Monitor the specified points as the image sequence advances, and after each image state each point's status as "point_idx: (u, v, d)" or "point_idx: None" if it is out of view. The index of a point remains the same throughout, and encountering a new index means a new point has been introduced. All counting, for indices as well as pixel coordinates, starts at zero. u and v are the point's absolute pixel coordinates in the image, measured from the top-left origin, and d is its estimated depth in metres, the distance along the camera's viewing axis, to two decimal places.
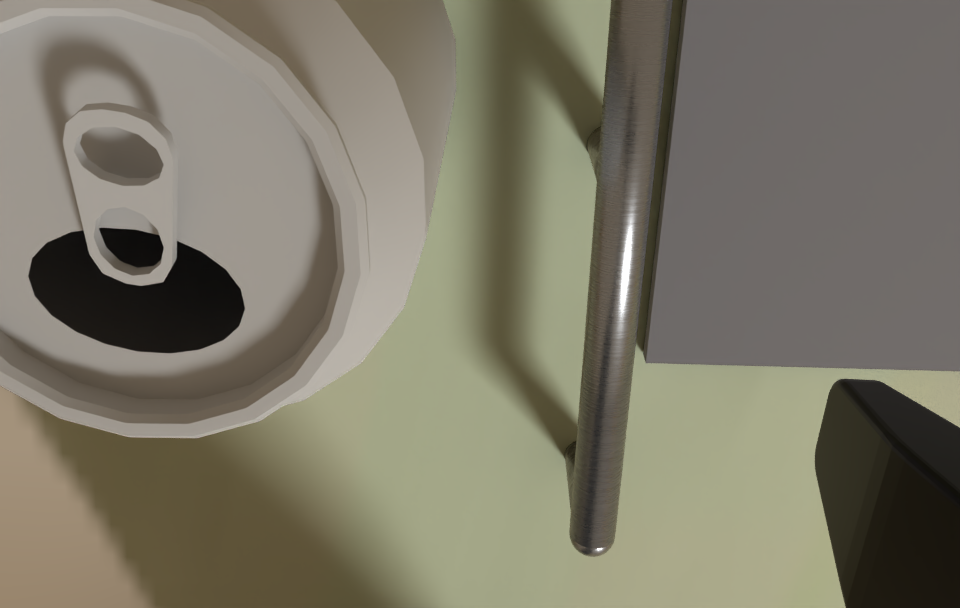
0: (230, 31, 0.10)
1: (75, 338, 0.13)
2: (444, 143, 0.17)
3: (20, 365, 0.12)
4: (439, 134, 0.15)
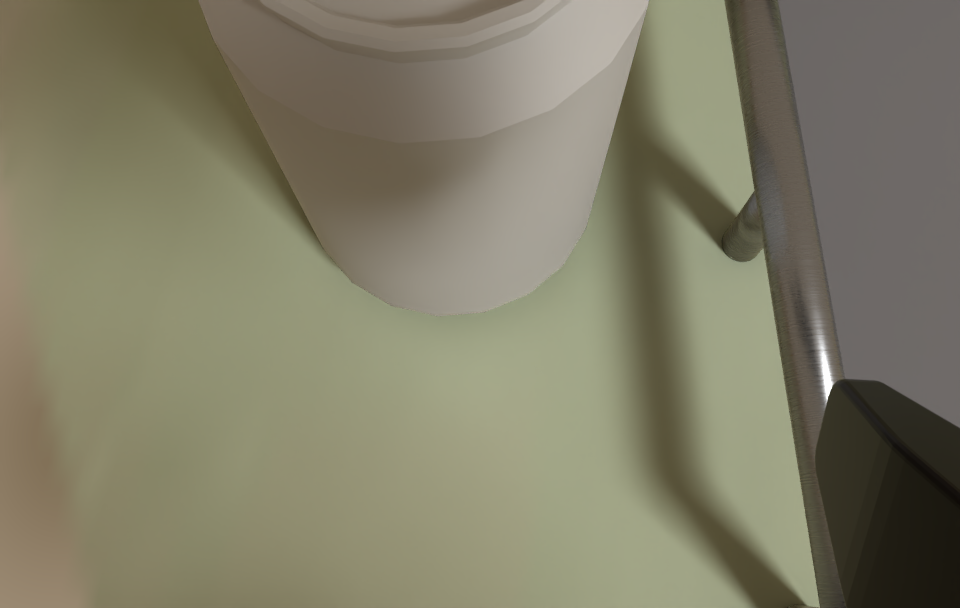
0: None
1: None
2: None
3: None
4: None
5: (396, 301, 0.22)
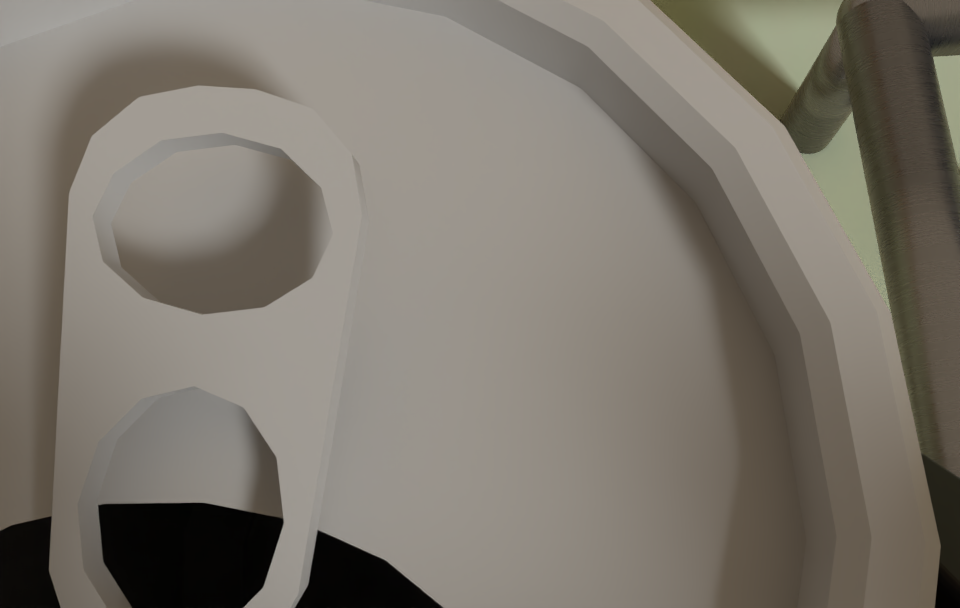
0: None
1: None
2: None
3: None
4: None
5: None
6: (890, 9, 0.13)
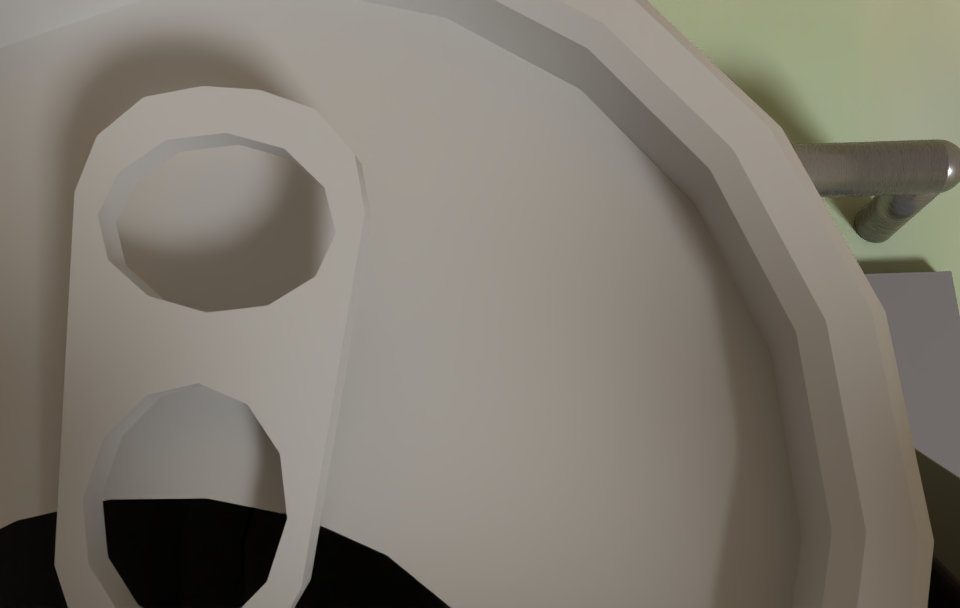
0: None
1: None
2: None
3: None
4: None
5: None
6: None
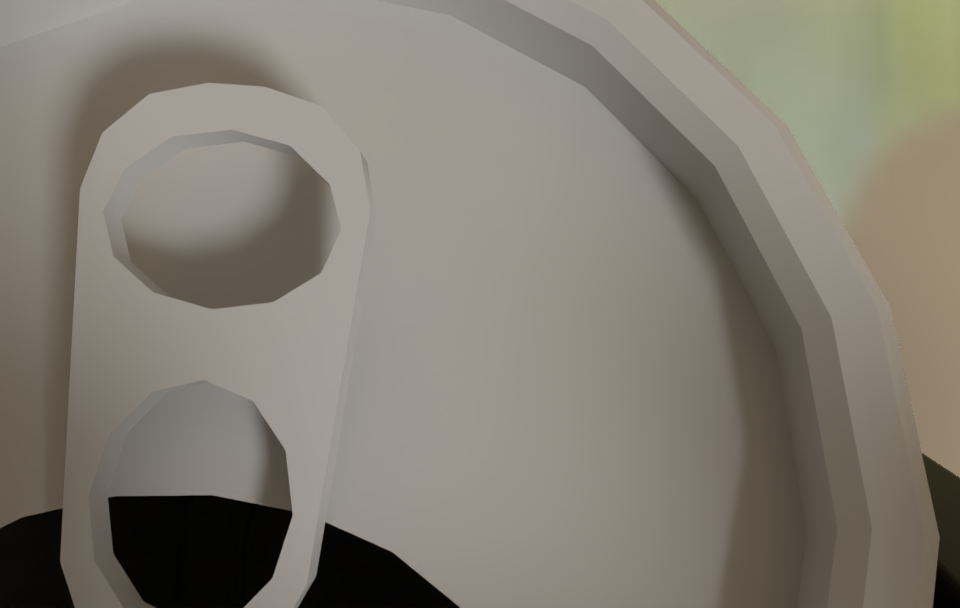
0: None
1: None
2: None
3: None
4: None
5: None
6: None
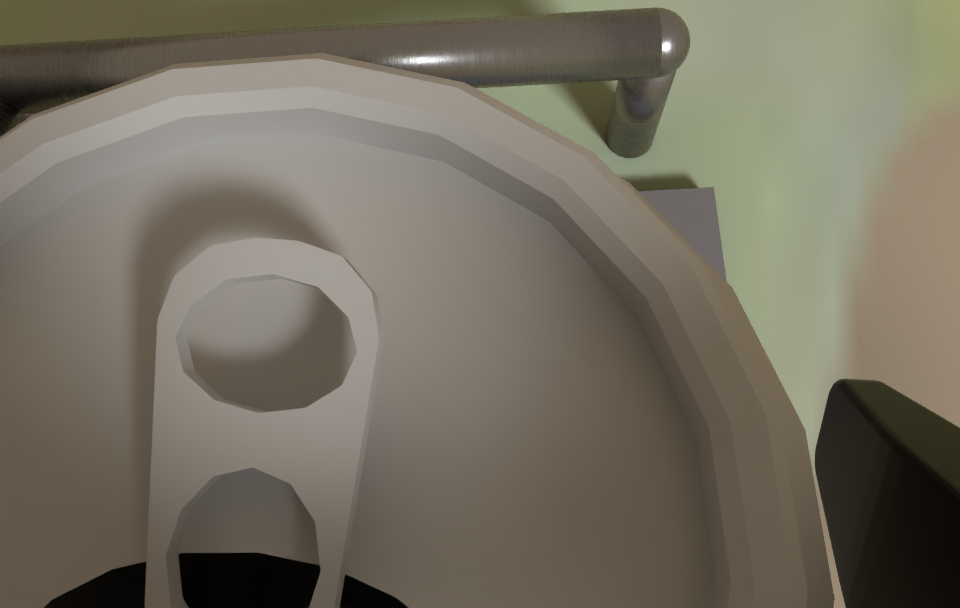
0: (506, 109, 0.06)
1: None
2: None
3: None
4: None
5: None
6: None
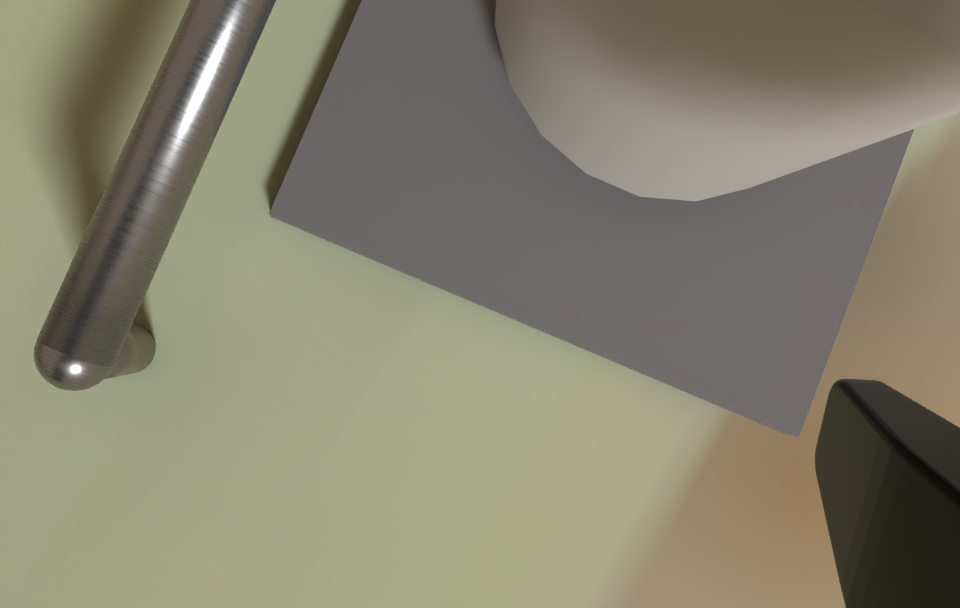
0: None
1: None
2: None
3: None
4: None
5: (554, 135, 0.17)
6: None
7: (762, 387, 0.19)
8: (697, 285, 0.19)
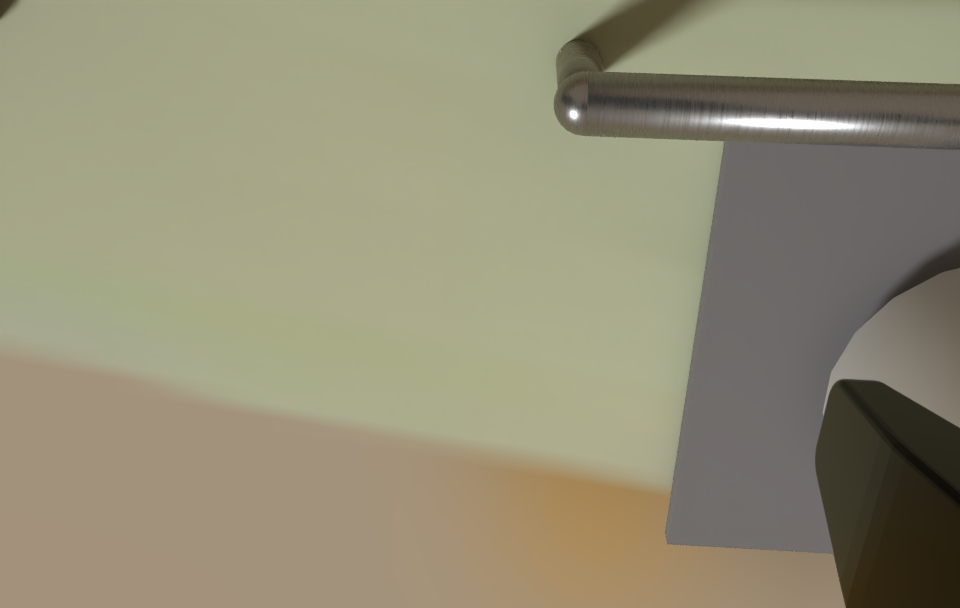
0: None
1: None
2: None
3: None
4: None
5: (857, 349, 0.21)
6: None
7: (696, 514, 0.25)
8: (761, 455, 0.24)
